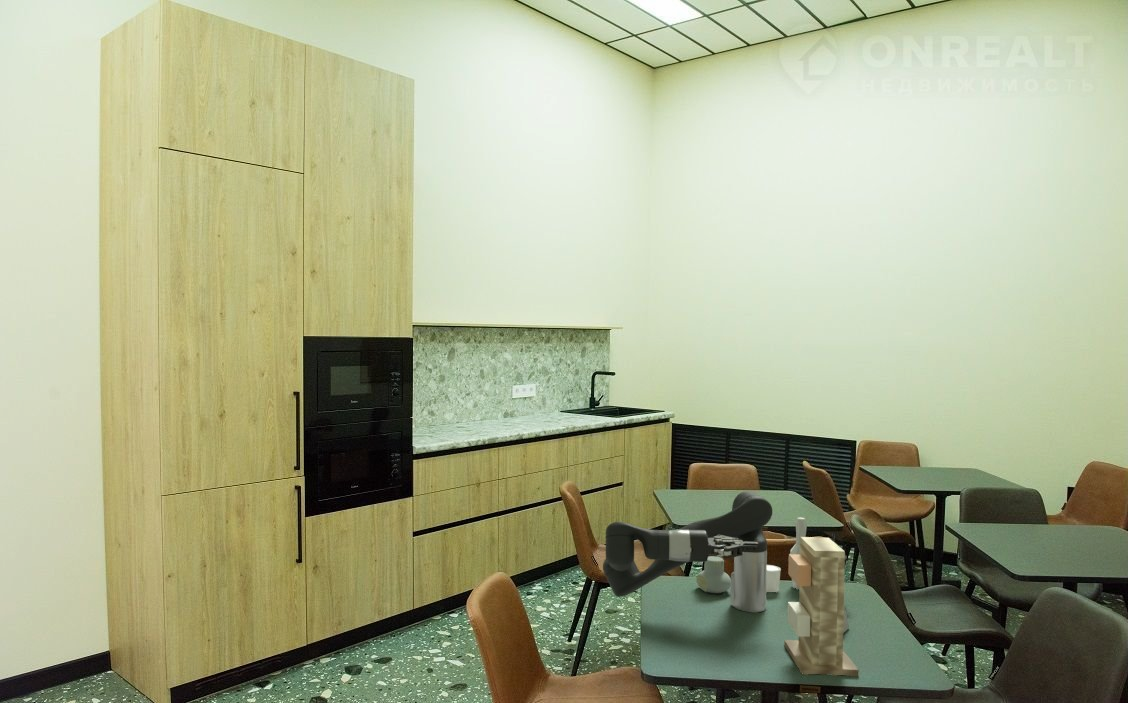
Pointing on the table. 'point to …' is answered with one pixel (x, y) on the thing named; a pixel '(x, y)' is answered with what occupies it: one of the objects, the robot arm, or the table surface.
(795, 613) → the lower knob
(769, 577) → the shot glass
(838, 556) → the knob post
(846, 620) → the electrical switch
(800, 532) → the low poly bottle
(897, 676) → the table surface
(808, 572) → the orange block
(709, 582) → the air freshener
